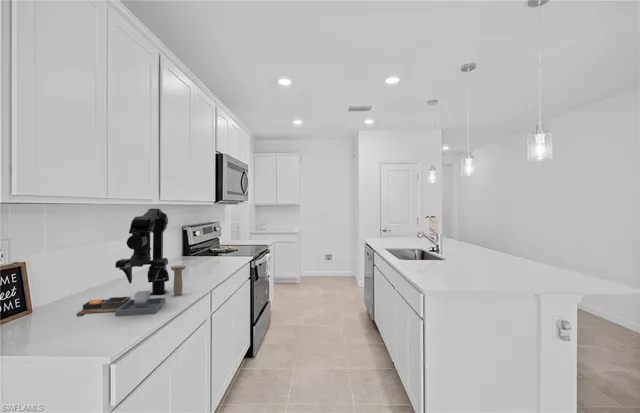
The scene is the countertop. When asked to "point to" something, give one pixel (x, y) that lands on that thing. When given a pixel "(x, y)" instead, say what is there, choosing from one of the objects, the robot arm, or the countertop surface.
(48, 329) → the countertop surface
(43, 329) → the countertop surface
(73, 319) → the countertop surface
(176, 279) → the handle
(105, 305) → the brown wood panel
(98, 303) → the button
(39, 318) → the countertop surface
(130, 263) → the robot arm
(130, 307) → the tote
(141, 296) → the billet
